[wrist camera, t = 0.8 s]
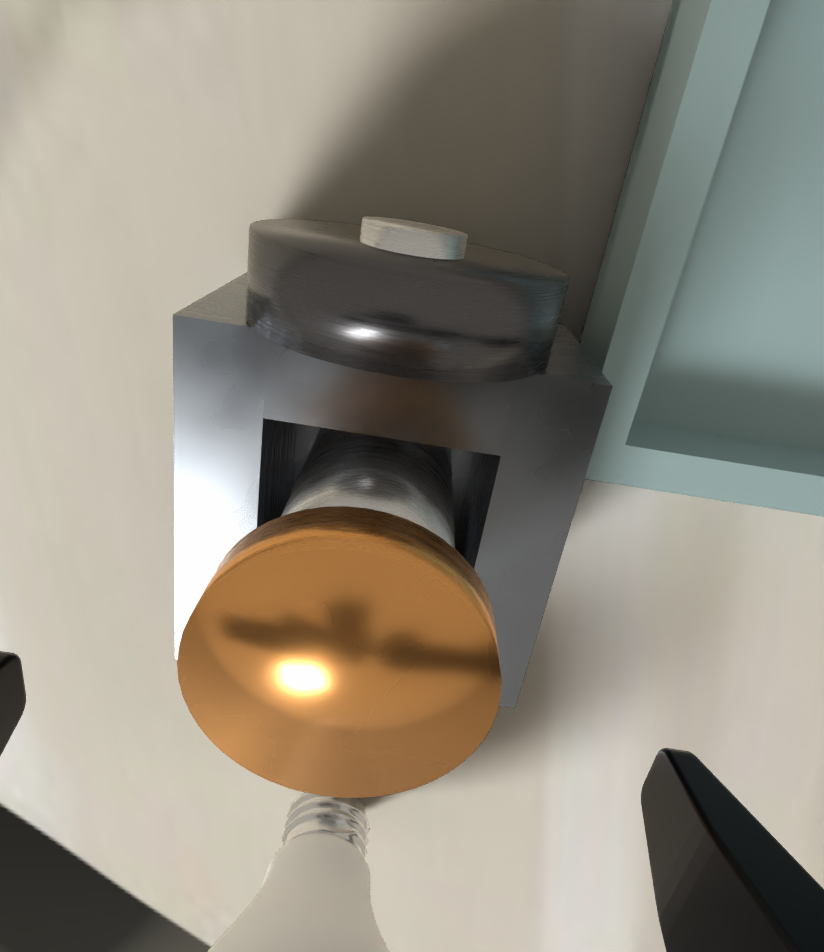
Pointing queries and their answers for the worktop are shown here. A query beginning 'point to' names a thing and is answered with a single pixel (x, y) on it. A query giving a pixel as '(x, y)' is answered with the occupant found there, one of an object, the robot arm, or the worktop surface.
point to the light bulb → (313, 886)
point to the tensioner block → (387, 397)
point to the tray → (720, 266)
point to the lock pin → (348, 630)
